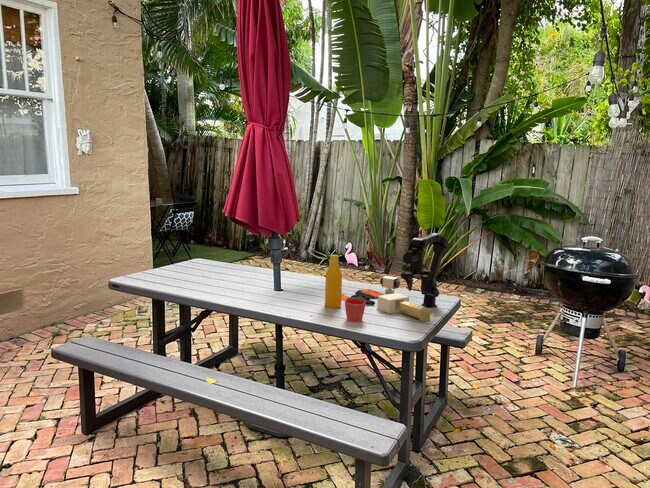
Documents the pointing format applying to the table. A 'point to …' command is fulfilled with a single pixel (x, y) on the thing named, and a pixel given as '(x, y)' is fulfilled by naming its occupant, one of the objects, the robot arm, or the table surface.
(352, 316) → the flower pot
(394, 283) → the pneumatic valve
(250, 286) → the table surface
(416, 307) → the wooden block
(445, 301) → the table surface
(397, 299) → the block
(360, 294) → the pair of gloves
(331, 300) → the beer bottle
